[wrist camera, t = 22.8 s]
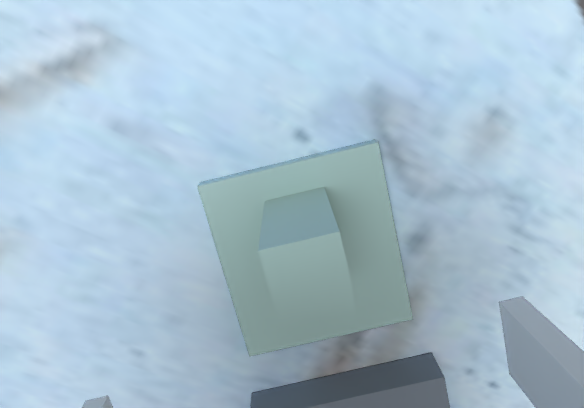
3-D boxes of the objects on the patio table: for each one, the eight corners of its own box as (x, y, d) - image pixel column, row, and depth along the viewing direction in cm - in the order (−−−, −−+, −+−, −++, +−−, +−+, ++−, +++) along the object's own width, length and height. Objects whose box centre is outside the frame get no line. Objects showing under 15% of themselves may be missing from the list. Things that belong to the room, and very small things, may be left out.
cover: (250, 345, 36) (238, 451, 26) (201, 181, 33) (165, 231, 23) (407, 309, 36) (456, 404, 26) (373, 138, 32) (415, 171, 22)
